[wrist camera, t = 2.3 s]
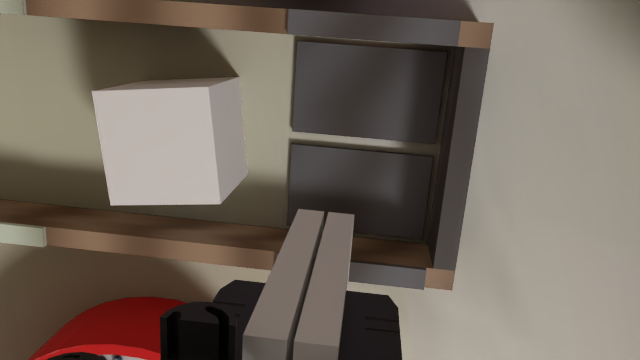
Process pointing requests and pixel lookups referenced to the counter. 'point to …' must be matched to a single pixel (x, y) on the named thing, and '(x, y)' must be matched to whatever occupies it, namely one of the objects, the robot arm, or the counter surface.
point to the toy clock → (113, 330)
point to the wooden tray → (309, 160)
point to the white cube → (172, 140)
